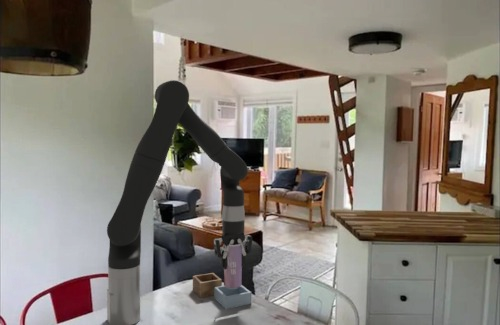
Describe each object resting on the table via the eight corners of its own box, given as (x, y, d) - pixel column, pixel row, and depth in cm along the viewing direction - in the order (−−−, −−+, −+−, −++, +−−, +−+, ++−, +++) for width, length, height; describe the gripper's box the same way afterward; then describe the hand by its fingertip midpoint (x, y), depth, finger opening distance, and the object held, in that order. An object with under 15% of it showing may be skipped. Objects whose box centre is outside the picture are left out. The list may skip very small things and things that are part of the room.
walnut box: (200, 300, 131) (200, 283, 130) (192, 292, 138) (192, 275, 137) (221, 296, 134) (221, 279, 134) (213, 288, 141) (213, 272, 141)
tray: (225, 311, 122) (225, 297, 122) (214, 300, 131) (214, 287, 130) (251, 305, 127) (251, 292, 126) (238, 295, 135) (239, 283, 135)
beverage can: (242, 283, 131) (242, 241, 130) (240, 290, 125) (240, 245, 124) (225, 282, 131) (225, 240, 131) (222, 289, 126) (222, 244, 125)
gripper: (218, 222, 120) (217, 274, 121) (257, 218, 127) (256, 267, 128) (209, 218, 127) (209, 267, 128) (247, 214, 134) (246, 261, 135)
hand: (232, 267), depth 128 cm, fingers closed on beverage can, 6 cm apart
